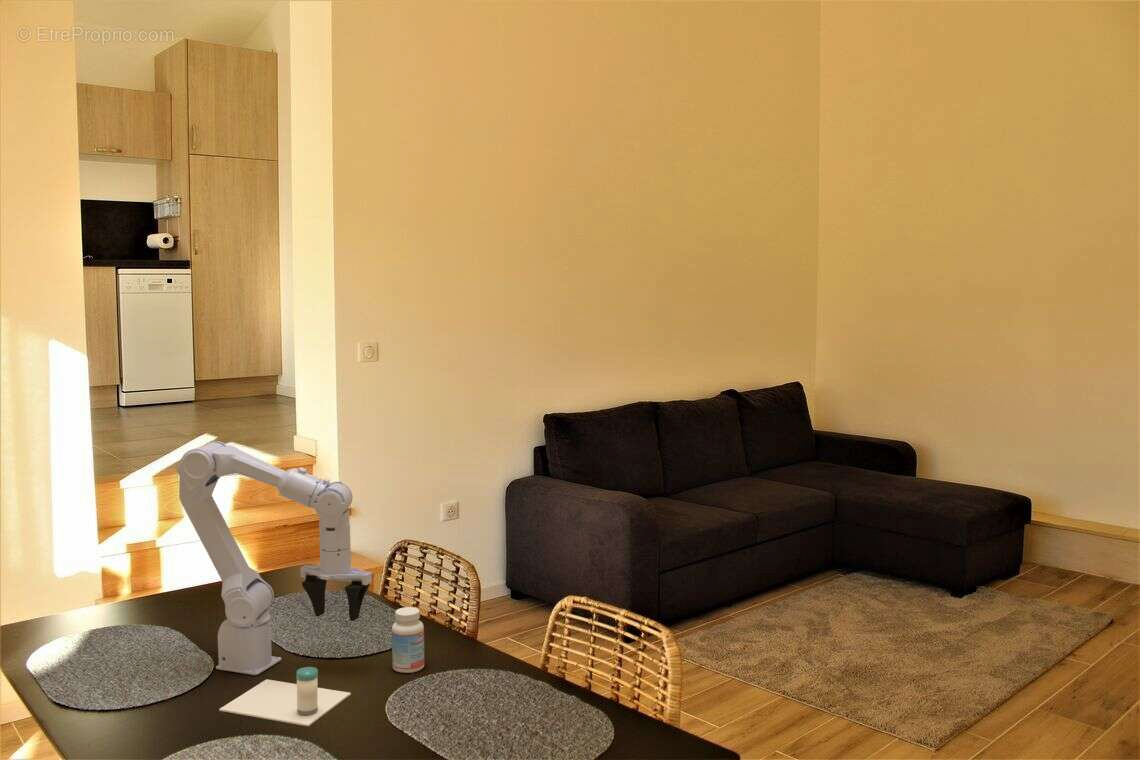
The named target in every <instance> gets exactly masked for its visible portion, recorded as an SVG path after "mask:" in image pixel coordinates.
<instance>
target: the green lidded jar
mask: <svg viewBox="0 0 1140 760" xmlns="http://www.w3.org/2000/svg"><path fill="white" fill-rule="evenodd" d="M318 676H319V669H318V668H317V667H315V666H306V667H304V666H303V667H300V668H299V669H297V670H296V684H297V713H298V714H299V715H302V716H309V715H313V714H315V713H317V711H318V688H319V687H318V685H319V684H318V681H319V680H318Z"/></svg>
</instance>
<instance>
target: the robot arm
mask: <svg viewBox="0 0 1140 760" xmlns="http://www.w3.org/2000/svg"><path fill="white" fill-rule="evenodd" d="M176 472H177V474H178V479H179V481H178V483H179V485H178V486H179V490H178V493H179V495H178V497H179V501H180V503H181V505H182V507H183V509H184V511H185V513H186V514H187V517H188V518H189V521H190V522H191V525H192V526H193V528H194V530H195V532H196V533H197V536H198V538H199V539H200V542H201V543H202V545H203V547H204V549H205V551H206V553H207V555H208V557H209V558H210V560H211V563H212V564H213V566H214V568H215V570H216V572H217V574H218V576H219V578H220V579H221V582H222V586H221V593H220V595H221V599H222V600H223V602H224V613H225V617H226V619H225V620H224V621H222V623H221V625H219V628H218V631H217V650H218V651H217V653H218V655H217V656H218V665H216V666H215V669H216V670H220V671H227V672H234V673H239V674H244V675H251V676H257V675H259V674H261V673H263V672H264V671H266V670H267V669H270V668H271V667H273V666H274V665H276V664H278V663H279V662H281V661H282V657H280V656H273V655H272V633H271V632H272V629H271V628H272V627H271V614H270V612H269V608H270V607H271V605H273V602H274V599H275V594H274V590H273V587H272V586H271V585H270V584H269V583H268V582H266V581H265V580H264V579H263V578H262V576H261V575H260V573H259V572H258V571H257V570H255V569H253V568H251V567H250V566H249V565H248V562H247V560H246V559H245V557H244V555H243V553H242V551H241V548H240V547H239V544H238V543H237V542H236V539H235V538H234V536H233V534H232V532H231V530H230V527H229V526H228V524H227V522H226V520H225V518H224V517H223V514H222V512H221V511H220V509H219V507H218V504H217V503H216V501H215V499H214V498H213V493H214V491H215V488H216V485H217V483H218V482H219V479H220V478H221V477H224V476H225V477H226V476H229V475H235V474H238V475H241V476H245V477H247V478H249V479H253V480H255V481H258V482H261V483H263V484H267V485H270V486H271V487H275V488H277V490H278V492H279V494H280V496H281V497H283V498H284V499H285V498H286V499H289V500H290V501H293V502H295V503H298V504H300V505H303V506H306V507H307V508H310V509H314V510H315V512H316V515H318V517H319V518H318V521H319V524H318V530H319V531H318V534H319V565H309V564H305V565H303V566H302V567H300V568H299V569H300V578H302V579H303V578H304V579H305V580H304V581H302V583H301V586H302V588H303V589H304V590H305V592H306V594H307V595H308V598H309V599H310V602H311V605H312V608H313V612H314V615H315V617H320V616H322V615H323V614H325V613H326V612H325V610H326V599H325V598H326V588H327V582H328V581H329V580H331V581H338V582H348V583H349V584H348V585H346V586H345V587H344V590H345V593H346V597H347V601H348V602H347V603H348V618H349V622H354V621H356V620H358V619H359V617H360V612H361V607H362V604H363V600H364V599H365V595H366V593H367V591H368V589H369V587H370V585H371V583H372V582H373V574H372V573H373V572H371V571H365V570H362V569H358V568H355V567H352V556H351V551H352V549H351V546H352V545H351V522H350V510H349V507H350V506H351V504H352V502H353V492H352V490H351V489H350V488H349V486H347V485H346V484H345V483H343V482H342V481H332V482H331V480H330V479H328V478H327V477H326V478H325V477H324V479H323V478H320V477H317V476H315V475H312V474H310V473H308V469H306V468H304V467H299V468H298V469H297V468H295V467H294V468H290V469H288V470H284V469H282V468H280V467H277V466H275V465H272V464H270V463H269V462H266V461H264V460H262V459H260V458H259V457H258V458H257V457H255V456H254V455H252V454H249V453H247V452H245V451H242V450H241V449H239V448H238V447H236V446H234V445H230V444H227V445H226V443H224V442H222V441H219V440H213V441H212V440H211V441H208V442H206V443H205V444H203V445H201V446H199V447H195V448H192V449H189V450H188V451H186V452H185V453H184V454H183V456H182V457H181V458H180V461H179V463H178V464H177V467H176Z"/></svg>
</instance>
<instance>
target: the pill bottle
mask: <svg viewBox="0 0 1140 760" xmlns="http://www.w3.org/2000/svg"><path fill="white" fill-rule="evenodd" d="M420 612H421V611H420V609H419V608H417V607H413V606H405V607H401V608H397V609H396V610H395V613H394V618H395V620H396V621H395V622H394V623H393V624H392V625H391V655H392V657H391V659H392V664H391V665H392V669H393V670H394V671H395V672H396V673H403V674H404V673H407V674H408V673H409V674H411V673H416V672H419V671H421V670H422V669H423V668H424V667H425V628H424V623H423V622H422V621H421V620H419V619H420V617H421V613H420Z"/></svg>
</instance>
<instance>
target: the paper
mask: <svg viewBox="0 0 1140 760" xmlns="http://www.w3.org/2000/svg"><path fill="white" fill-rule="evenodd" d="M351 695H352V693H351V692H349V691H341V690H334V689H329V688H324V687H318V711H317V713H315V714H313V715H309V716H302V715H299V714H298V713H297V683H291V682H286V681H285V682H284V681H279V680H273V679H265V680H263V681H261V682H259V684H257V685H255V686H254V687H252V688H250V689H249V690H246V692H244V693H243V694H241V695H239V696H238V697H236V698H235V699H233V700H232V701H230V702H228V703H227V704H225V705H224V706H221V707H220V708H219V709H218V710H219V712H223V713H231V714H237V715H242V716H249V717H253V718H258V719H264V720H268V721H269V720H270V721H274V722H275V721H276V722H281V723H287V724H293V725H298V726H304V727H310V726H311V725H312V724H314V723H315V722H316V721H317V720H319V719H320V718H322V717H323V716H324V715H326V714H327V713H328V712H329V711H331V710H332V709H334V708H335V707H336V706H337V705H339V704H340V703H342V702H343V701H344V700H345V699H347V698H348V697H350V696H351Z"/></svg>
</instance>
